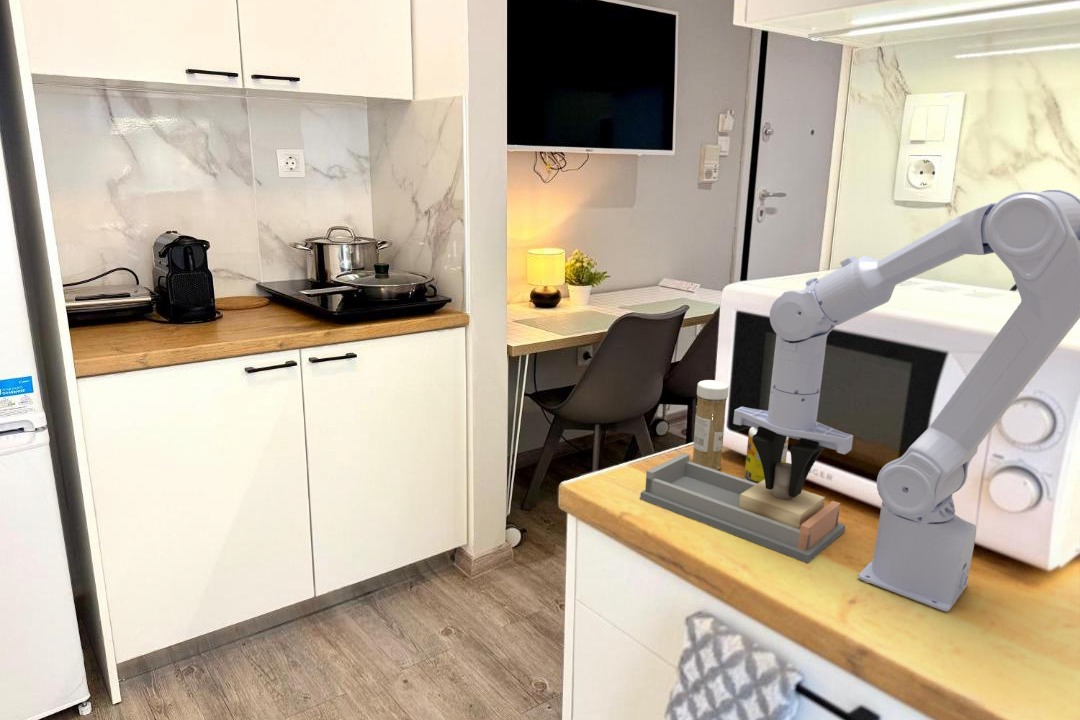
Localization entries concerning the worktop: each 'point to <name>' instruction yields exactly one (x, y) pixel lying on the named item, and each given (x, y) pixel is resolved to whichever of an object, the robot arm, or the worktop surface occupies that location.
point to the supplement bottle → (757, 459)
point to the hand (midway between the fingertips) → (783, 490)
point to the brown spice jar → (710, 423)
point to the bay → (735, 508)
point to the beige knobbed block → (781, 500)
